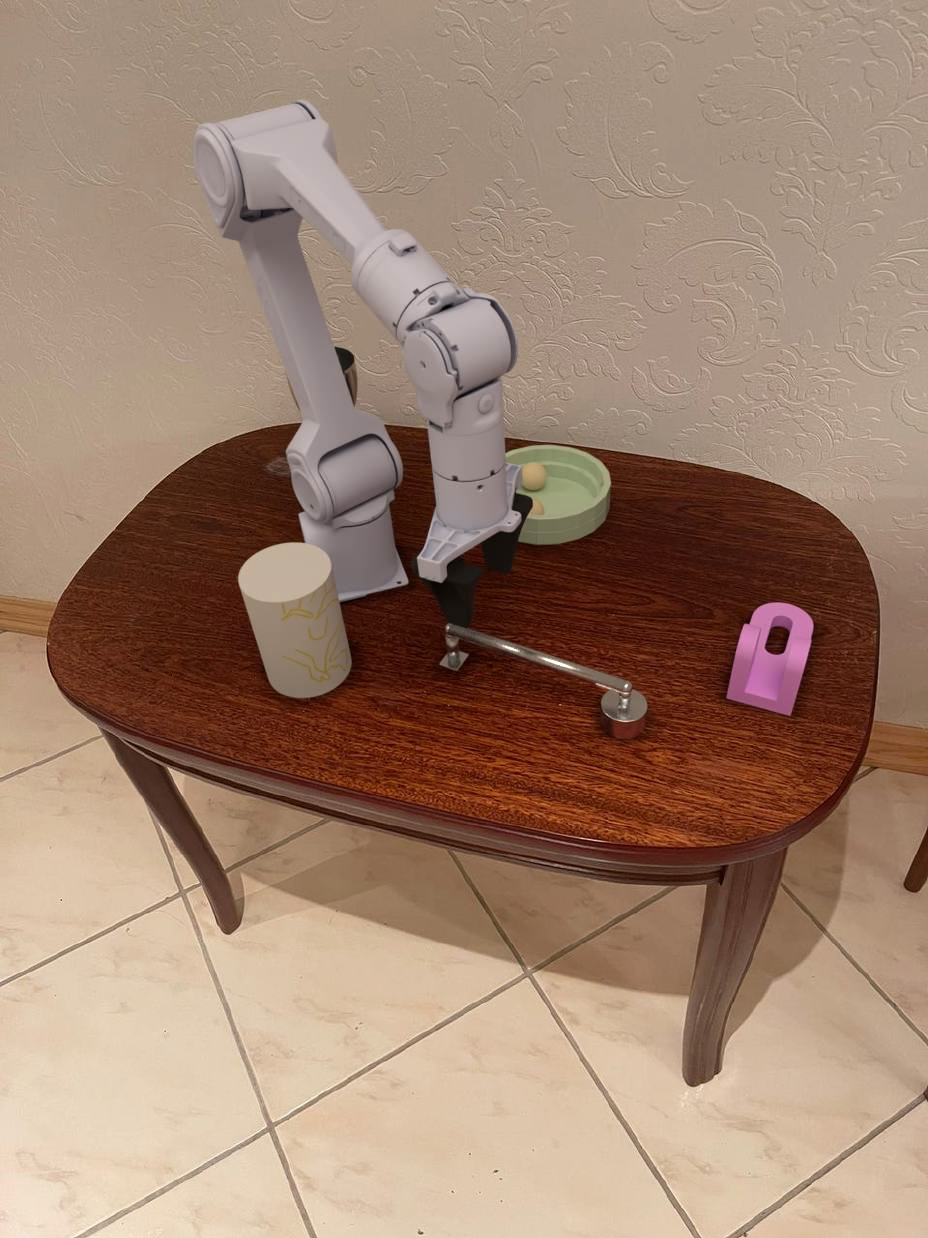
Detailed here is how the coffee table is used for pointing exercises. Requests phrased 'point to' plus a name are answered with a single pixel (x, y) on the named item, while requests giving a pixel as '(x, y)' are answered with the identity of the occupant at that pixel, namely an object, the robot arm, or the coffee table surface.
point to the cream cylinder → (296, 618)
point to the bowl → (564, 494)
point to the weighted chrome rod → (618, 705)
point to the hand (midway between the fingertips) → (479, 595)
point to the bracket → (771, 659)
